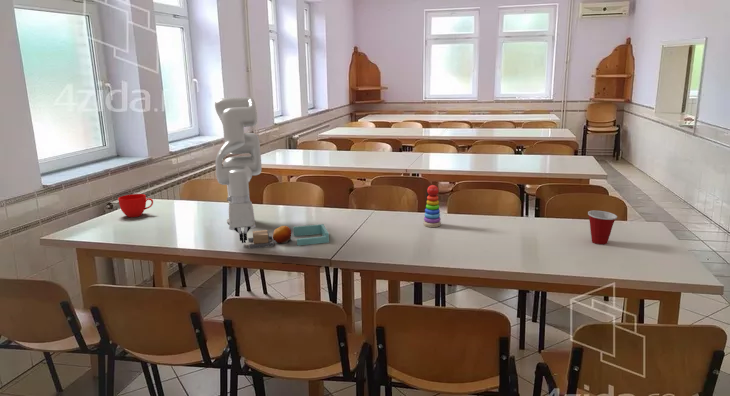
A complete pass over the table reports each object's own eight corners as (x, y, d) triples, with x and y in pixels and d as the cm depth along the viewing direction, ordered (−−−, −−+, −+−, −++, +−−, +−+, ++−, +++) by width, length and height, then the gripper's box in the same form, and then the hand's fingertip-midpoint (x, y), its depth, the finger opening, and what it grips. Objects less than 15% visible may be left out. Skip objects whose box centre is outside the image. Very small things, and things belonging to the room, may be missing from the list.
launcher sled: (253, 241, 228) (252, 231, 227) (269, 239, 230) (268, 229, 229) (253, 246, 221) (253, 236, 220) (270, 244, 223) (269, 234, 222)
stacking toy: (421, 226, 243) (421, 186, 239) (426, 222, 250) (426, 182, 246) (438, 228, 240) (438, 187, 236) (442, 223, 247) (443, 183, 243)
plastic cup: (612, 248, 208) (615, 218, 205) (583, 244, 214) (585, 215, 211) (616, 240, 217) (619, 211, 214) (588, 236, 223) (590, 208, 220)
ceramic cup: (149, 218, 270) (147, 199, 267) (116, 219, 270) (113, 200, 268) (159, 212, 282) (157, 193, 280) (127, 212, 283) (125, 194, 280)
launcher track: (248, 241, 229) (248, 238, 229) (272, 239, 231) (272, 235, 231) (249, 248, 220) (248, 245, 219) (273, 246, 222) (273, 242, 222)
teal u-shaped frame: (293, 235, 236) (293, 226, 235) (323, 232, 238) (323, 224, 237) (297, 245, 222) (296, 236, 221) (329, 242, 225) (328, 233, 224)
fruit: (292, 241, 222) (281, 225, 221) (277, 250, 224) (267, 234, 224) (298, 236, 230) (288, 220, 229) (284, 244, 232) (274, 229, 231)
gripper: (221, 202, 214) (225, 246, 218) (259, 199, 217) (262, 243, 222) (221, 198, 221) (225, 241, 226) (258, 195, 225) (261, 237, 229)
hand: (243, 242), depth 224 cm, fingers closed
